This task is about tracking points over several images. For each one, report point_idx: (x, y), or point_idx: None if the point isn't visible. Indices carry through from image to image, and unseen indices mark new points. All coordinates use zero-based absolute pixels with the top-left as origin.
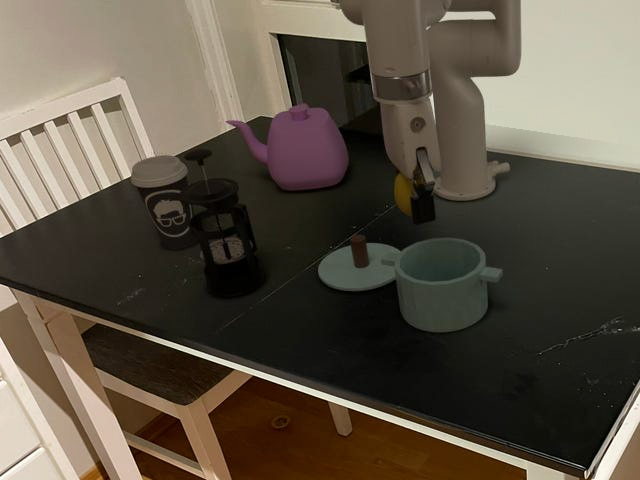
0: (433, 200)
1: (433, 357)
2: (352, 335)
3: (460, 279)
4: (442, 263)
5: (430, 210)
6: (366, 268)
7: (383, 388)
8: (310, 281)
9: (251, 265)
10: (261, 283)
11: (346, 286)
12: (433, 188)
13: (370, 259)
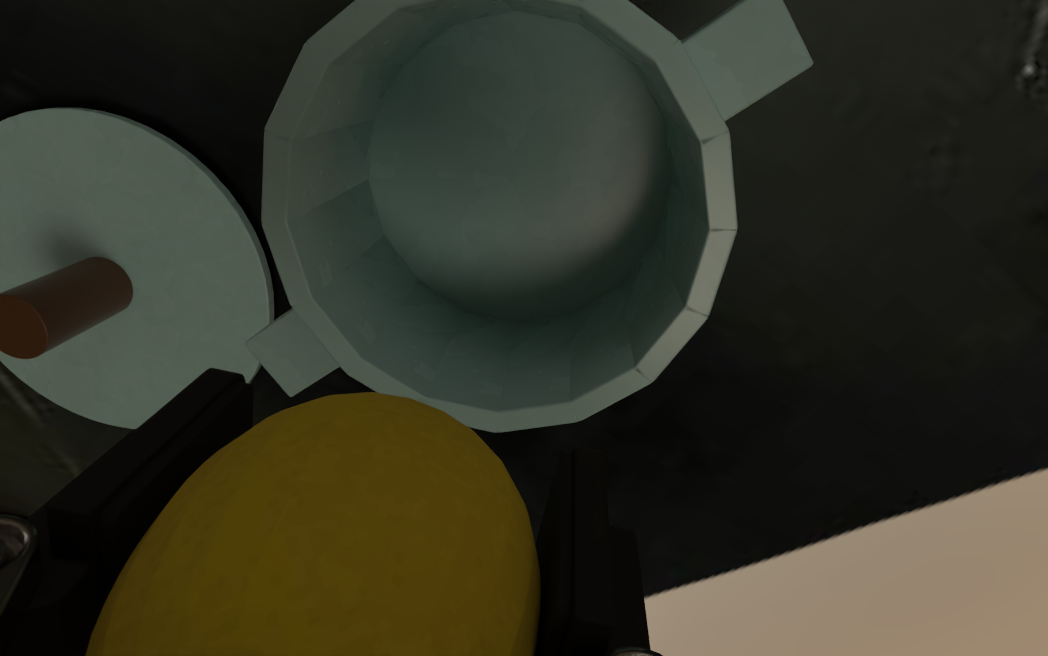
0: (608, 568)
1: (736, 368)
2: None
3: (722, 257)
4: (357, 96)
5: (640, 574)
6: (141, 286)
7: (744, 533)
8: (112, 434)
9: None
10: None
11: None
12: (434, 496)
13: (82, 241)
